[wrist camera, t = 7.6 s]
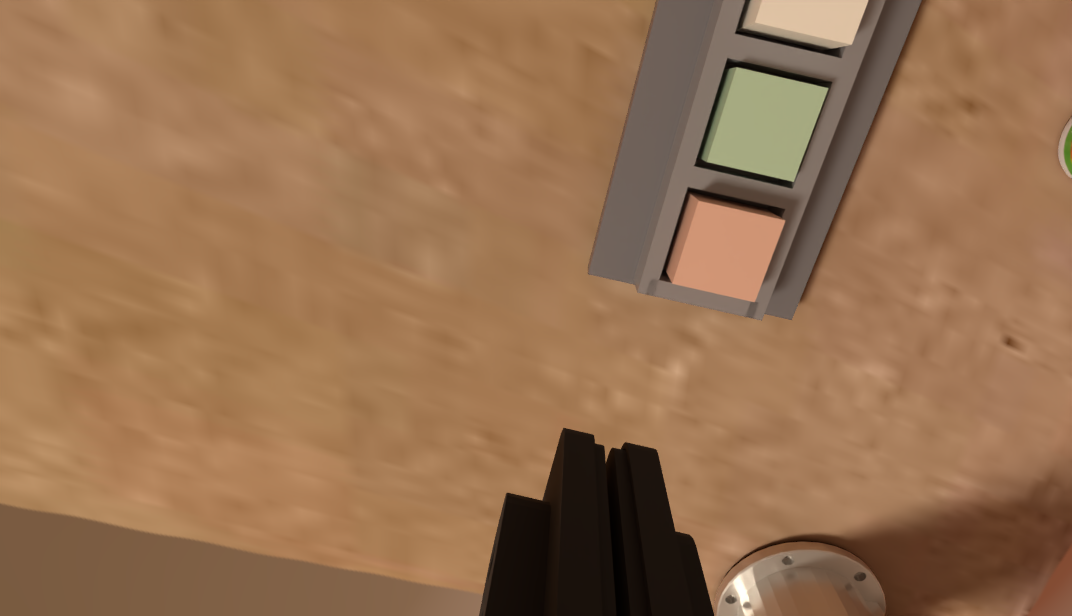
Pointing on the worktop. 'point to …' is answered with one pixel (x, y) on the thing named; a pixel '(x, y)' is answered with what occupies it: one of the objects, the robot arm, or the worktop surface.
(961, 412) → the worktop surface
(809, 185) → the console
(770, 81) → the sage key
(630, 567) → the robot arm
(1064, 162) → the supplement bottle
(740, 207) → the terracotta key
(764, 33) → the cream key
